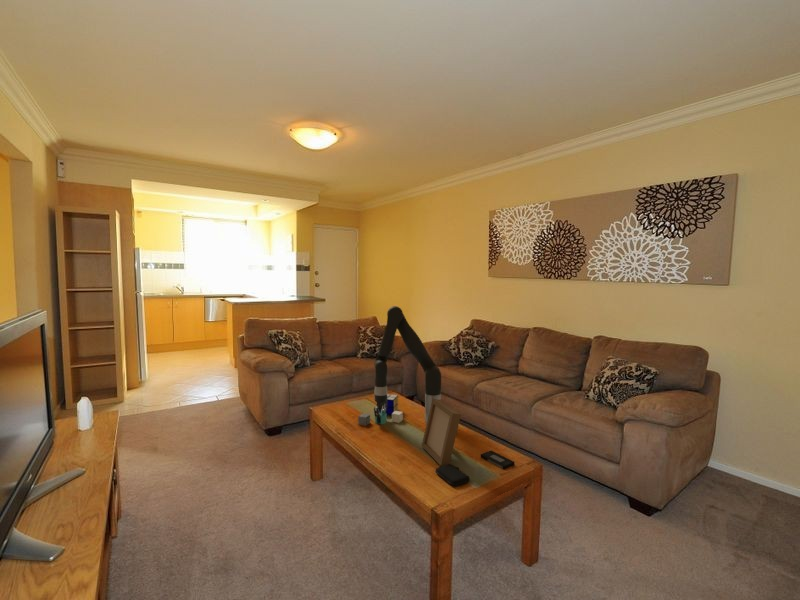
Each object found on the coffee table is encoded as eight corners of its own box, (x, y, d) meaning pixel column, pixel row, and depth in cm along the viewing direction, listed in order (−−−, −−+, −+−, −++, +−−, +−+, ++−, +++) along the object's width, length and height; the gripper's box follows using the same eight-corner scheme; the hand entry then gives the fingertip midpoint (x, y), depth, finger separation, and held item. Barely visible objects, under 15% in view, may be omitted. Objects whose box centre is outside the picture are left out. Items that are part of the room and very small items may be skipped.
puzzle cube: (378, 414, 248) (378, 398, 248) (383, 408, 258) (383, 393, 257) (393, 415, 245) (393, 399, 245) (398, 410, 255) (398, 395, 254)
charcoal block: (369, 422, 234) (369, 414, 234) (365, 425, 229) (365, 417, 229) (362, 421, 236) (362, 413, 236) (358, 424, 231) (358, 416, 231)
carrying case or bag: (473, 482, 169) (453, 467, 182) (473, 475, 169) (453, 461, 181) (453, 489, 164) (433, 473, 176) (453, 482, 163) (433, 466, 176)
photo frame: (440, 467, 181) (441, 414, 179) (421, 447, 201) (422, 399, 199) (469, 462, 186) (470, 410, 184) (447, 443, 206) (448, 396, 204)
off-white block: (402, 419, 239) (402, 411, 238) (399, 422, 234) (399, 414, 234) (395, 418, 241) (395, 410, 240) (391, 421, 236) (391, 413, 236)
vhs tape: (503, 470, 179) (503, 466, 179) (480, 458, 191) (480, 454, 191) (514, 466, 183) (514, 461, 183) (491, 454, 195) (491, 450, 195)
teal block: (386, 421, 236) (386, 413, 236) (382, 424, 232) (382, 416, 231) (379, 420, 238) (379, 411, 238) (375, 423, 234) (375, 414, 233)
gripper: (381, 397, 226) (381, 426, 227) (391, 390, 239) (391, 417, 240) (369, 395, 229) (369, 424, 230) (380, 389, 242) (380, 416, 243)
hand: (380, 421), depth 235 cm, fingers closed on teal block, 5 cm apart
